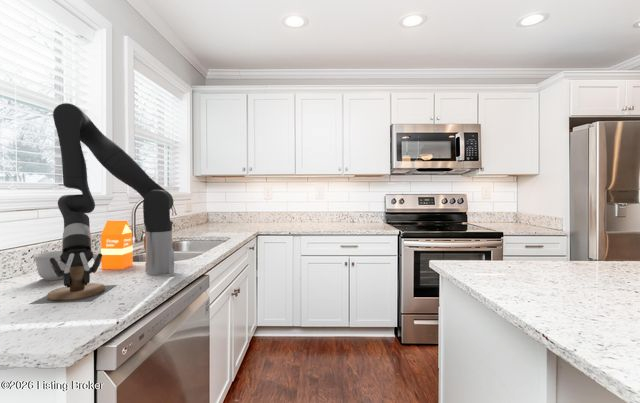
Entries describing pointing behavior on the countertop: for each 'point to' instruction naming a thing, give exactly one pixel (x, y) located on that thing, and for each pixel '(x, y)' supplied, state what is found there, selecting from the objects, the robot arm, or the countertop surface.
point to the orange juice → (116, 245)
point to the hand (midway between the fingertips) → (77, 284)
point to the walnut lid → (76, 287)
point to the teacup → (48, 265)
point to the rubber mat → (45, 300)
